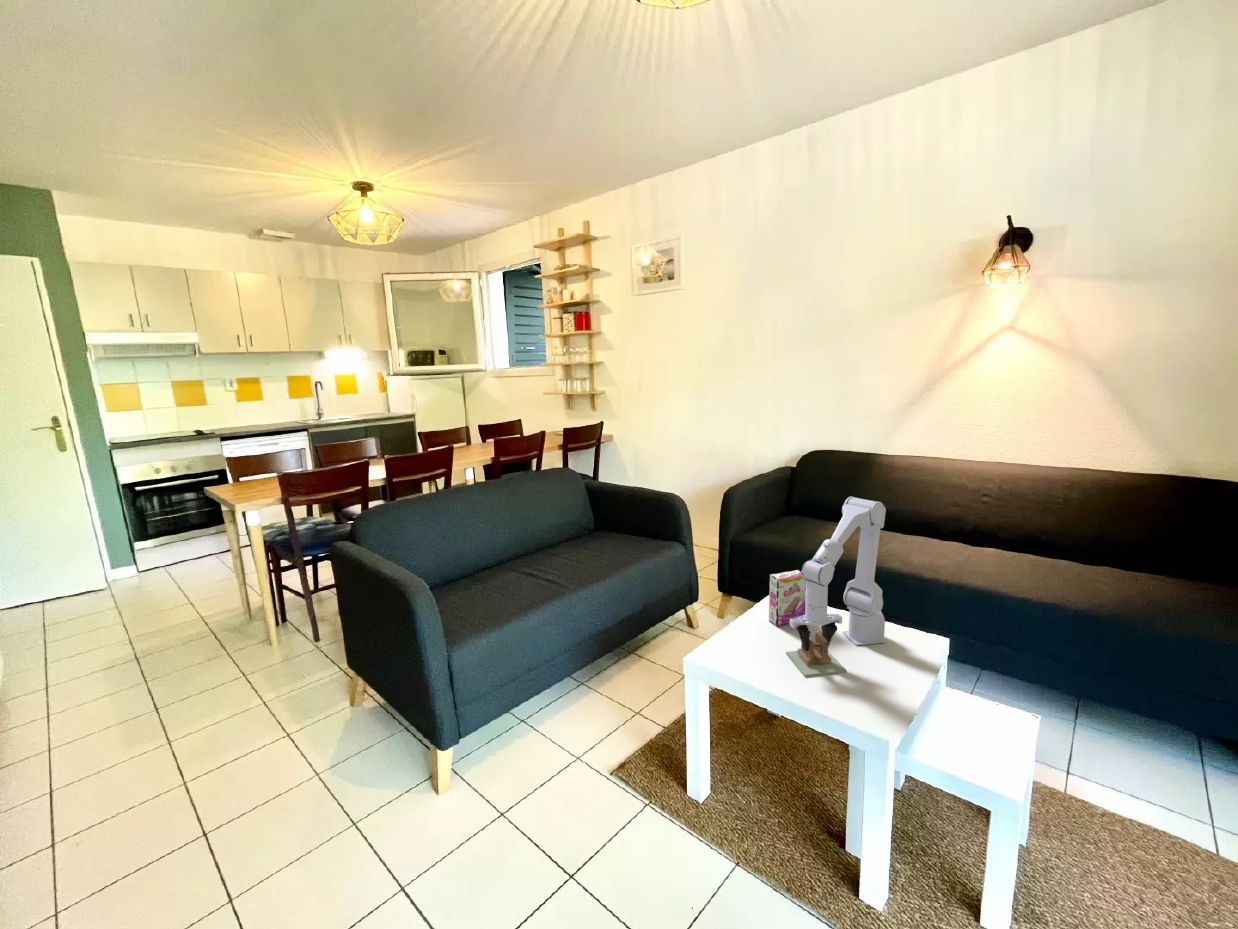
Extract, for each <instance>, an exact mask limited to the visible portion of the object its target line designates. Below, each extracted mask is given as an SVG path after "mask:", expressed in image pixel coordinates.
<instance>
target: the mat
mask: <svg viewBox="0 0 1238 929" xmlns="http://www.w3.org/2000/svg"><path fill="white" fill-rule="evenodd" d="M797 652H798V650H793V651H792V650H791V651H786V652H785V655H786V656H787V657H788V659H790V661H791V662H792V664H794V666H795V667H796V668H797V669H798V671H799V672H800V673H801V674H802V675H803V677H805V678H808V677H816V676H823V675H834V674H842V673H843V674H844V673H847V671H848V670H847V669H846V668H845V667H844V665H842V664H841V663H840V662H839V661H838V660H837V658H835V656H833V655H832V654H831V653H830V651H828V655H829V657H830V658H831V663H829V664H820V665H811V666H807V665H806V664H805V663H804V661H803V660H802V659H801V657H800V656H799V655H798V654H797Z"/></svg>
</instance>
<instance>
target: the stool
mask: <svg viewBox="0 0 1238 929" xmlns="http://www.w3.org/2000/svg"><path fill="white" fill-rule="evenodd" d="M800 647H801V648H798V649H797V651H798V652H797V654H798V655H799V656H800V657H801V659H802V660H803V661H804V663H805V664H806V665H807V666H811V665H820V664H829V663H831V658H830V657H829V655H828V652H829V651H828V650H829V647H828V641H827V640H826V639H825V638H824V637H823V636H822V632H820V631H818V632H815V633H814V641H813V640H812V639H811V637H809V650H808V651H805V650H804V649H803V646H802V643H801V646H800Z"/></svg>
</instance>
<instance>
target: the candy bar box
mask: <svg viewBox="0 0 1238 929" xmlns="http://www.w3.org/2000/svg"><path fill="white" fill-rule="evenodd" d="M768 588H769V591H768V592H769V593H768V594H769V600H768V621H769V622H770V623H772V624H773V625H774V626H775V627H781V626H785V625H790V619H793V618H797V617H800V616H803V615H805V597H806V586H805V585H804V579H803V578H802V576H801V571H800V570H799V569H795V570H791V571H783V572H778V573H772V574H769V587H768Z"/></svg>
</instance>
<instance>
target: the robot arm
mask: <svg viewBox="0 0 1238 929" xmlns="http://www.w3.org/2000/svg"><path fill="white" fill-rule="evenodd" d="M886 508H887V507H886V506H885V505H884V504H883V503H882V502H881V501H875V500H870V499H864V498H859V497H855V496H848V497H847V498H846V500H845V501H844V503H843V505H842V507H841V513H842V516H841V519H840V520H839V522H838V525H837V526H836V528H835V531H834V532H833V533H832V535H831V538H829V539H828V538H827V539H824V541H823V542H822V544H821V545H820V547H819V548H818V550H817V551H816V553H815V554H814V556H813V558H812V559H809V560H807V561H805V563H803V565H802V568H801V571H800V572H801V576H802V578H803V579H804V585H805V586H806V597H805V615H803V616H800V617H797V618H793V619H790V624H789V626H790V627H791V628H792V629H796V631H797V633H798V634H799V637H800V640H801V644H802V646H803V649H804V650H805V651H808V650H809V638H811V637H810V636H811V633H812V631H811V630H810V629H809V627H810V626H817V627H818V626H819V627H821V635H822V636H823V637H824V638H825V639H826V640H827V641H828V648H829V646H830V644H831V641H832V638H833V637H834V635H835V634H836V633H837V631H838V626H837V625H836V623H837V624H839V625H841V624H843V616H841V614H839V613H836V614H835V613H834V614H833V613H828V594H829V593H828V592H829V590H828V589H829V588H828V586H829V584H830V583H831V581H832V580H833V577H834V572H835V570H836V569H835V566H836V564H837V563H838V561H839V560H840V559H841V557H842V555H843V554H844V552H845V551H844V547H843V546H844V545H845V543H846V541H847V540H848V539H849V538H850V536H852V535H853V533H854V532H855V530H856V529H857V527H858V528H860V534H859V544H858V551H857V560H856V568H855V577H854V579H851V580H849V581H847V583H846V587H845V590H844V593H843V596H842V597H843V599H842V600H843V602H844V605H846V609H848V611H849V618H848V619H849V620H848V630H844V631H842V634H843V635H844V636H845V637H847V638H848V639H849V640H850V641H851V642H852V643H853V644H854V645H855V646H864V645H872V644H882V643H886V640H885V625H886V620H885V616H884V614H883V613H882V609H883V606H884V599H883V589H882V588H881V587H880V586H879V585H878V584H877V583H876V582H875V577H876V576H875V575H876V568H877V567H876V566H877V558H878V550H879V544H880V543H879V541H880V534H881V529H883V528H884V527H885V519H886V514H887V510H886ZM808 626H809V627H808Z"/></svg>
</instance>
